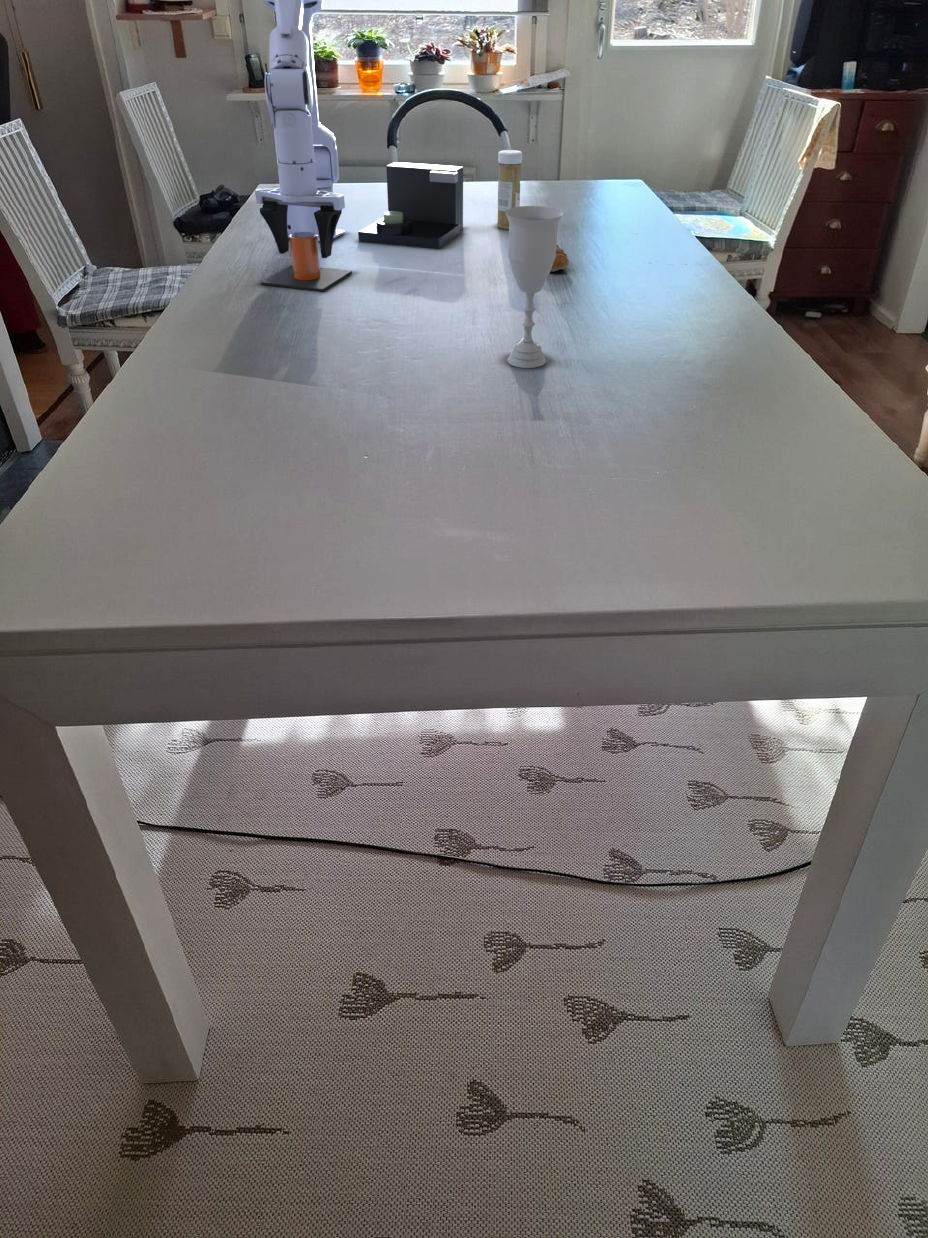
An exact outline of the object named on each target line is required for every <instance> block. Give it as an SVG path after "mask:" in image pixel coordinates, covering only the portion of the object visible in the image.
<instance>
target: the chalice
mask: <svg viewBox="0 0 928 1238" xmlns="http://www.w3.org/2000/svg"><path fill="white" fill-rule="evenodd" d="M506 216H507V218H508V221H509V229H508V247H507V248H508V249H507V250H508V251H507V253H508V254H507V257H508V260H509V264H510V268H511V272H512V274H513V277H514V279H515V282H516V284H517V287H518V289H519V291H520V292H522V293H523V294H525V303H524V306H523V308H522V310H523V312H524V315H525V317H524V320H523V321H522V322H521V325H522V326H523V329H524V334H523V337H522V338H521V340H518V341H516V342H515V343H514V345H513V346H512V349H511V351H510V355H509V357H508V358H507V363H508V364H509V365H511V366H514V367H516V368H522V369H531V368H533V369H534V368H539V367H542V366H544V365H545V364H546V362H547V360H546V358H545V356H544V352H543V350H542V346H541V344H540V343H539V342H538V341H536V340H535V339H534V338H533V336H532V332H533V328H534V326H535V325H536V322H535V321H534V319H533V316H534V315H533V314H534V312H535V311H536V307H535V303H534V297H535V294H537V293H539V292H541V291H542V289H543V287H544V285H545V283H546V281H547V279H548V277H549V275H550V273H551V272H552V271H551V268H552V265H553V263H554V260H555V257H556V244H557V241H558V227H559V225H558V224H559V223H560V221H561V218H562V216H563V211H562V210H560V209H557V208H554V207H550V206H549V207H548V206H540V205H523V206H522V205H520V207H514V208H510V209H508V210H506Z"/></svg>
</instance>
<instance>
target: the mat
mask: <svg viewBox="0 0 928 1238" xmlns="http://www.w3.org/2000/svg"><path fill="white" fill-rule="evenodd" d="M320 271H321V277H320V278H318V279H314V280H298V279H295V278H294V273H293V264H292V265H290V266H288V267H286V268H285V269H283V270H281V271H279V272H277V273H275V274H274V275H272V276H270V277H268V278H266V279H265V280H263V281H261V283H260V285H262V286H268V287H279V288H287V289H298V290H303V291H304V290H306V291H315V292H322V293H323V292H325V291H326V290H328V289H329V288H331V287H333V286H334V285H335V284H337V283H339V282H341V281H342V280H344V279H345V278H347V277H348V276H350V275H352V274H353V271H352V270H348V269H347V270H345V269H339V268H338V269H337V268H329V267H328V268H326V267H320Z"/></svg>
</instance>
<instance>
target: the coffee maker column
mask: <svg viewBox="0 0 928 1238" xmlns="http://www.w3.org/2000/svg"><path fill="white" fill-rule="evenodd" d="M385 167H386V168H385V169H386V171H385V172H386V188H387V190H386V193H387V212H389V211H398V212H402V213H403V218H407V219H410V220H413V221H425V222H436V223H448V224H460V231H461V230H463V229H464V166H463V165H462V166H458V165H446V164H445V165H444V164H430V163H417V162H416V163H415V162H400V161H399V162H398V161H394V162H392V163H389V164H387V165H386V166H385Z"/></svg>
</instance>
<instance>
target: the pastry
mask: <svg viewBox="0 0 928 1238" xmlns="http://www.w3.org/2000/svg"><path fill="white" fill-rule="evenodd" d="M567 255H568V254H567V253H565V251H564V249H562V248H560V246H559V245H558V244H557V243H556V257H555V260H554V263H553V265H552V268H551V271H550V272H553V273H554V272H557V271H559V270H564V271H565V270H566V269H567V268H568V265H569V264H570V261H569V259H568V256H567Z"/></svg>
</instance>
